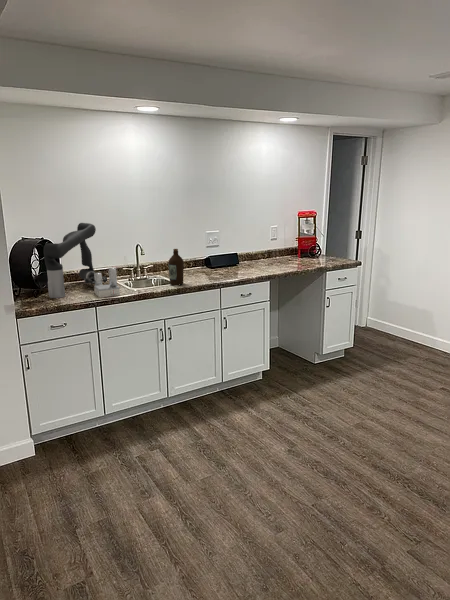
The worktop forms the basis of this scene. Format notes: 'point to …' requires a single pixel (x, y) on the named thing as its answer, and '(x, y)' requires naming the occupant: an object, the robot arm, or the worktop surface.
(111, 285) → the spacer on scale
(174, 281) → the olive oil
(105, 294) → the scale
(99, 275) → the spacer
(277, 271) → the worktop surface
